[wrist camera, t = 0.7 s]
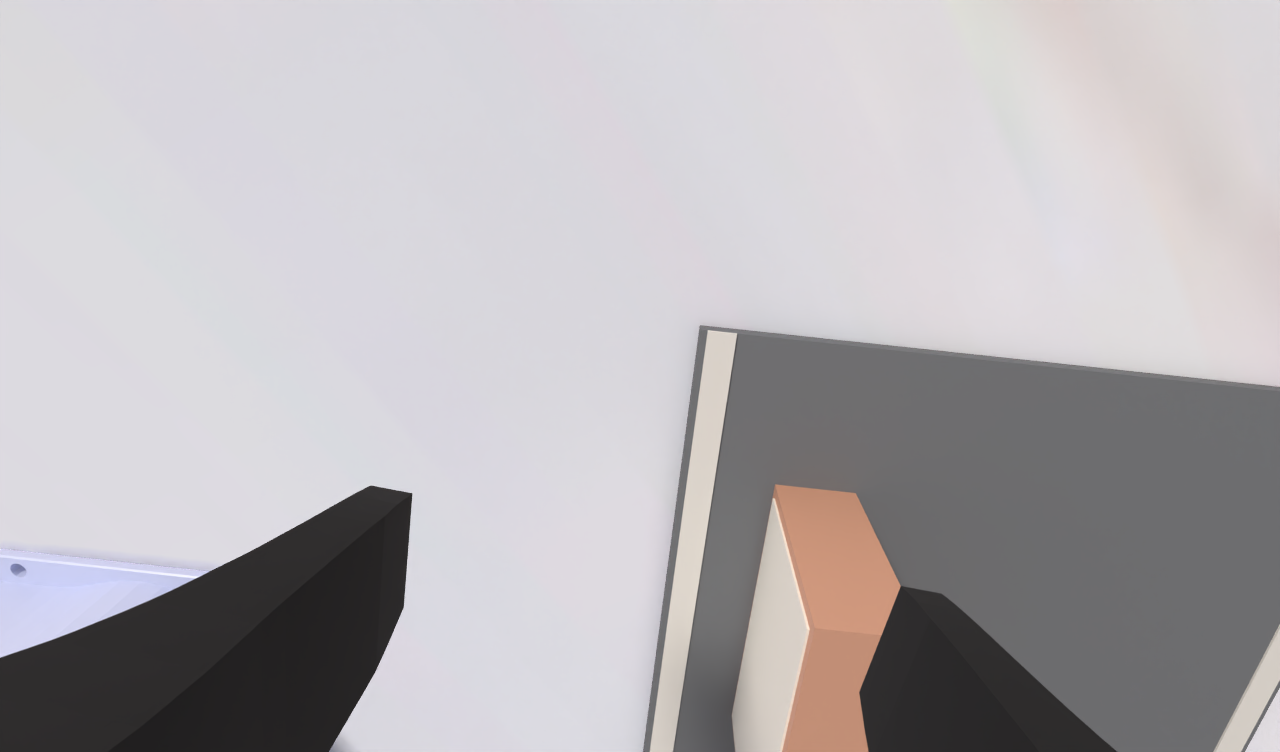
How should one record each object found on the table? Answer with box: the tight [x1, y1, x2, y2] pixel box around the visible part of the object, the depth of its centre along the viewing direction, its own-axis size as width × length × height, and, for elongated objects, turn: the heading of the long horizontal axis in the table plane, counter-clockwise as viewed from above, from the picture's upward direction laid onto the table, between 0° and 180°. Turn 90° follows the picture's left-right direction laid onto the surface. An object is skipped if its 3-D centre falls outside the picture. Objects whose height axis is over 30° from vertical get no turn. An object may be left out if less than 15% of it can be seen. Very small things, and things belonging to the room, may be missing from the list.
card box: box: [732, 484, 901, 752], centre depth 19 cm, size 2×9×6 cm, turn 174°
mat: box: [643, 326, 1280, 752], centre depth 22 cm, size 20×18×1 cm
